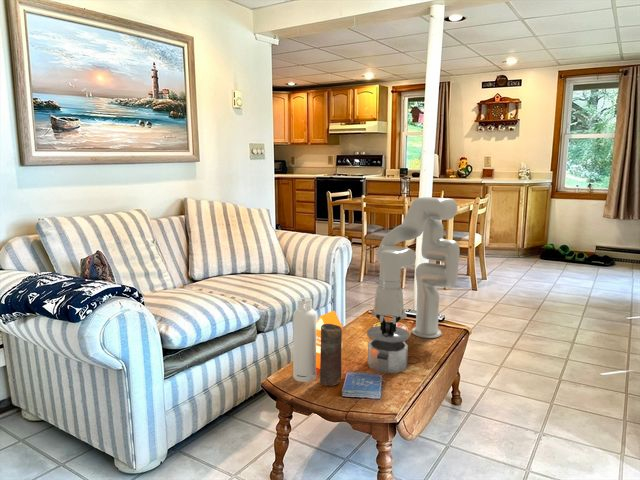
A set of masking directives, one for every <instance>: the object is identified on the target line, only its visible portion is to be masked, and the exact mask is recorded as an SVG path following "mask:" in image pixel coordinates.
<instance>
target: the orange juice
mask: <svg viewBox="0 0 640 480" xmlns="http://www.w3.org/2000/svg"><path fill="white" fill-rule="evenodd" d="M322 324H334V325H337V326H340V327H341V328H342V329H343V325H342V323H341V321H340V319H339V318H338V315H337V313H336V311H335V310H331V311H329V312H327V313H324V314H322V315H320V316H319V318H317V321H316V369H319V370H320V352H321V326H322Z"/></svg>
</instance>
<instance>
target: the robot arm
mask: <svg viewBox="0 0 640 480" xmlns="http://www.w3.org/2000/svg"><path fill="white" fill-rule="evenodd" d="M457 214H458V203H457V201H456V200H455V199H453V198H449V197H445V198H444V197H433V196H431V197H427V196H426V197H418V198H417V197H416V198H415V199H413V200H412V202H411V203H410V205H409V208H408V210H407V213H406V214H405V216H404V218H403V221H402V223H401V224H400V225H398V226H395V227H394V228H393V229H391V230H390V231H389V232H387V233H386V234H385V235H384V237H383V238H382V239H381V242H380V244H379V247H378V248H377V252H376V260H377V262H378V263H379V279H375V282H374V283H375V284H378V286H377V287H376V289H375V296H374V304H373V309H372V310H371V312H370V314H371V315H372V316H374V317H375V318H377V320H378V321H379V322H380V325H379V326H380V330H382V333H384V324H385V321H386V319H385V318H386V316H387V317H392V321H391V322H392V324H391V334H392V335H393V334H394V332H396V327H397V323H398V322H400V321H401V320H403V319H406V318H407V313H406V311H405V309H404V295H403V294H404V293H403V288H402V287H401V274H402V272H401V271H402V269H408V268H410V267H412V266H413V265H414V264H415V262H416V258H417V257H416V252H415V250H413V249H412V248H409V247H405V246H398V244H399V243H402V242H405V241H409V240H413V239H415V238H418V237H420V236H422V239H421V256H422V258H424V260H429V261H437V262H444V263H445V264H441V263H432V262H422V263H420V264H418V265H417V267H416V269H415V281H416V314H415V315H416V316H415V326H414V327H413V328H412V329H411V333H412V334H413V335H415V336H417V337H419V338H424V339H435V338H439V337H440V336H442V331H441V329H439V315H440V314H439V310H440V293H439V291H438V289H437V287H439V288H446V289H451V288H454V287H455V286H456V285H457V282H458V275H459V272H458V271H459V262H460V253H461V252H460V245H459V243H458V241H456V240H453V239H446V238H444V224H443V223H442V221H447V220H452V219H453V218H455V216H456V215H457ZM396 245H397V246H396Z"/></svg>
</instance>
